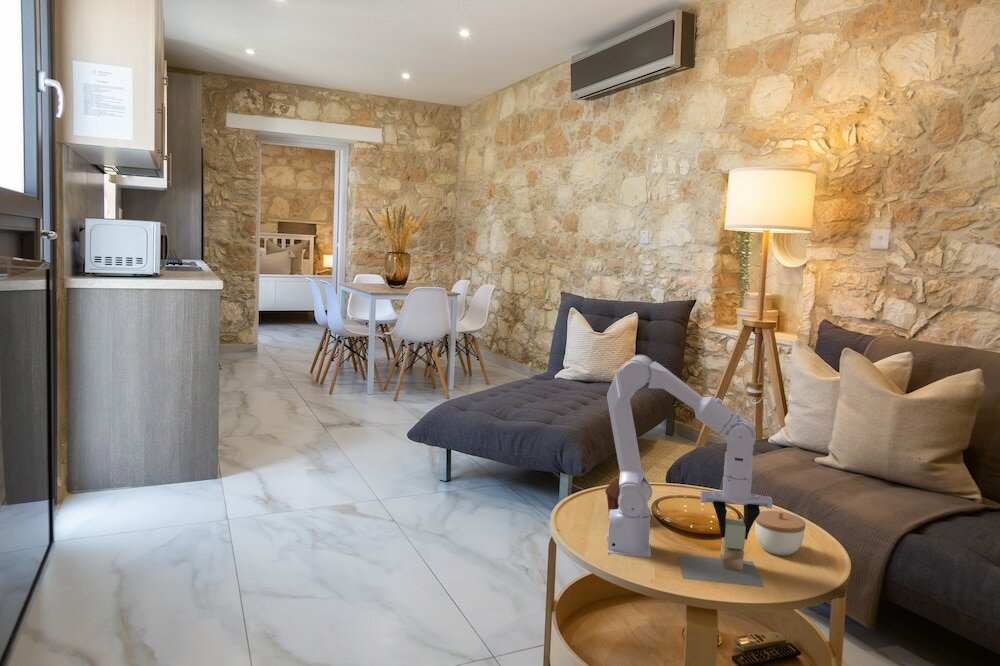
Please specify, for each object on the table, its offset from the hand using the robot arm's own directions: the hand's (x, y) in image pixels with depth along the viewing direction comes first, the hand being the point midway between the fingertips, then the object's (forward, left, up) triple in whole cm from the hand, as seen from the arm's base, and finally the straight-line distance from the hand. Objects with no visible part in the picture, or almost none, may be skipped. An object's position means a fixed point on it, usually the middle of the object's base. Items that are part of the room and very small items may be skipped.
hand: (733, 536), depth 150 cm
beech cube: (0, 0, -6) cm, 6 cm away
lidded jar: (+12, +11, -7) cm, 18 cm away
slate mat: (-3, -3, -7) cm, 8 cm away
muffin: (-22, +24, -7) cm, 33 cm away
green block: (0, 0, -2) cm, 2 cm away
